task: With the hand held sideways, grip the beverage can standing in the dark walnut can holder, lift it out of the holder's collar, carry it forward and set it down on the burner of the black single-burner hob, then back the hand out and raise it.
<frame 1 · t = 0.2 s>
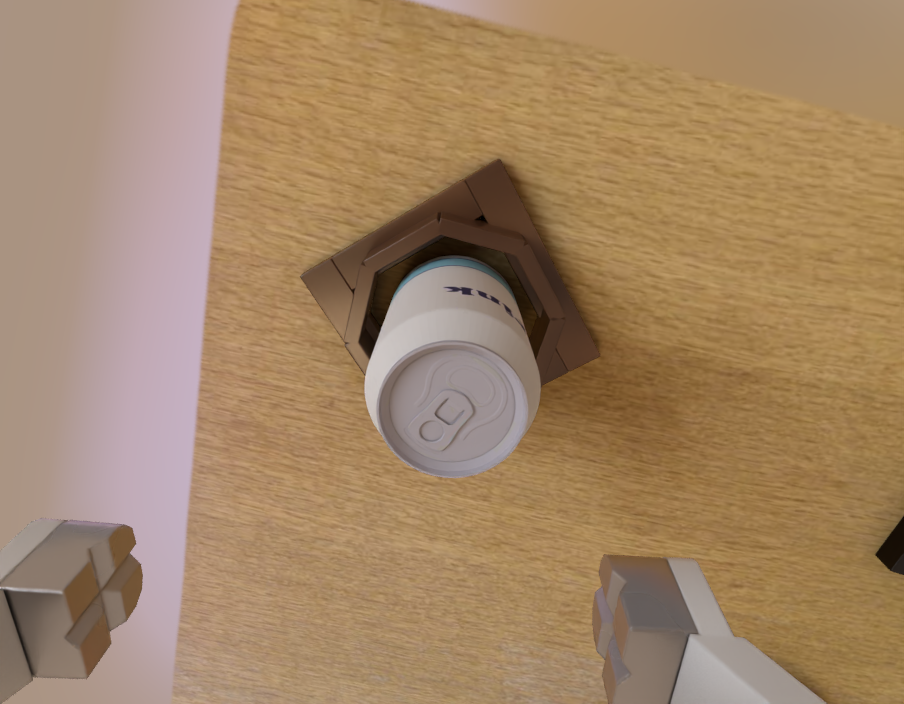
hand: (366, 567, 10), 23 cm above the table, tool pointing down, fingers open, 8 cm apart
can holder: (453, 312, 32), on the table
beverage can: (453, 311, 33), resting in can holder
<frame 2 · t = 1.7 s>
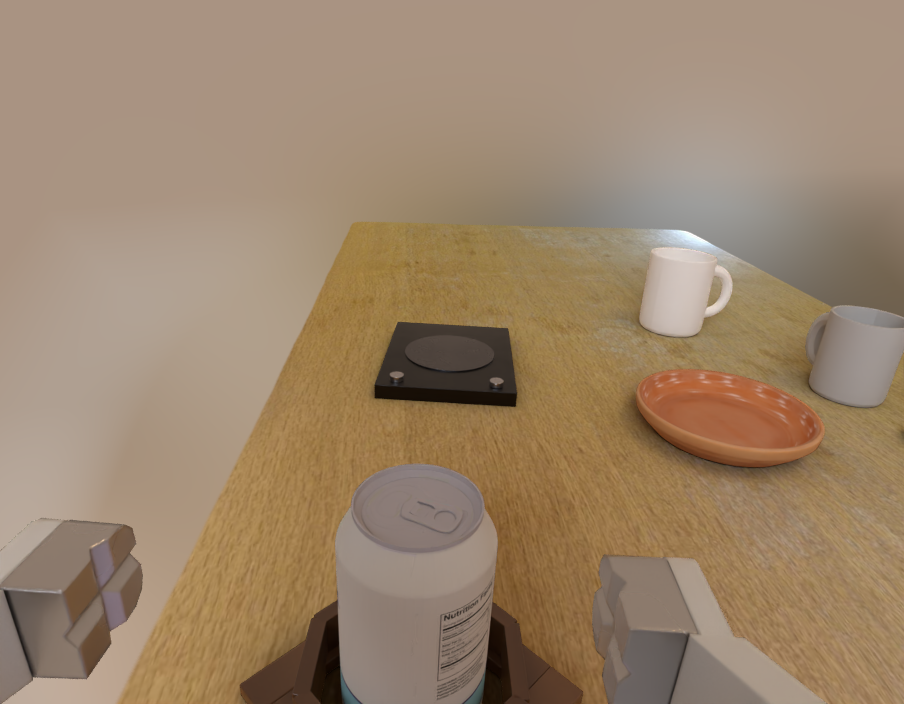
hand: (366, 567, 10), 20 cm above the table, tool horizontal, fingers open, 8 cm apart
mug: (681, 329, 82), on the table
can holder: (412, 698, 29), on the table
hob: (449, 365, 66), on the table
saucer: (718, 432, 55), on the table
cup: (833, 389, 66), on the table
beverage can: (412, 701, 29), resting in can holder
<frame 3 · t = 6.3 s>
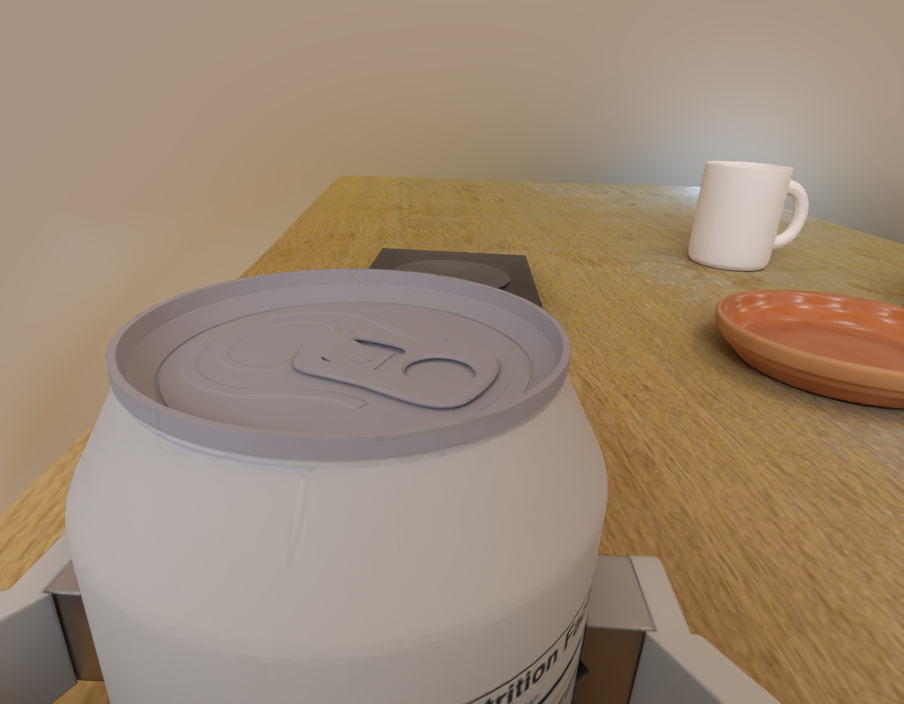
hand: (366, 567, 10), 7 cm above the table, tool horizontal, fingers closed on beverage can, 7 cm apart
mug: (741, 264, 65), on the table
hob: (449, 293, 49), on the table
saucer: (837, 368, 38), on the table
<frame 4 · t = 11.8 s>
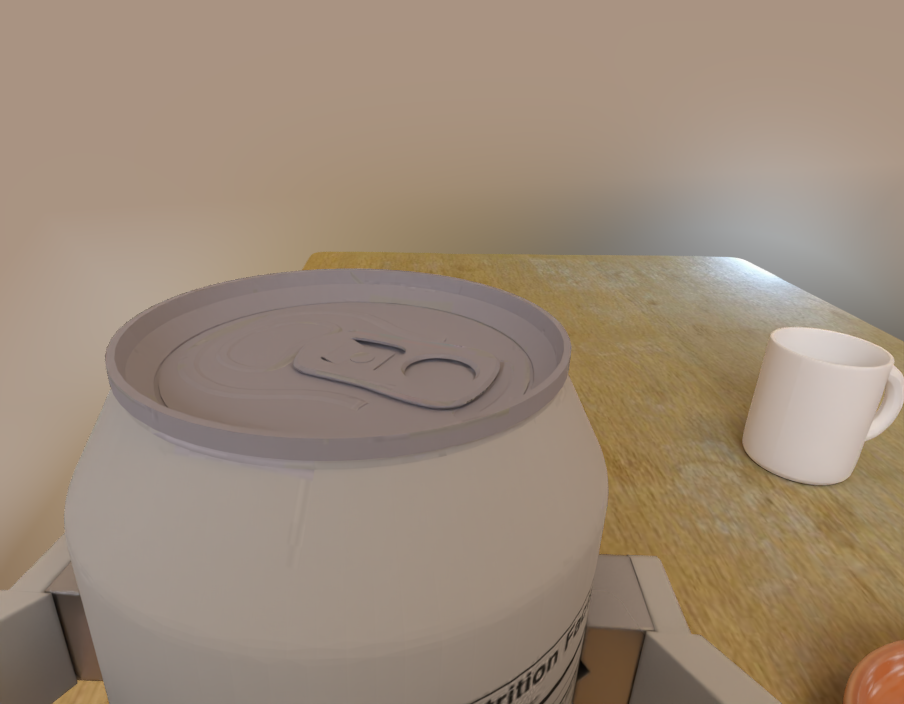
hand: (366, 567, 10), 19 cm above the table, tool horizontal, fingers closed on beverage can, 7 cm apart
mug: (813, 460, 49), on the table
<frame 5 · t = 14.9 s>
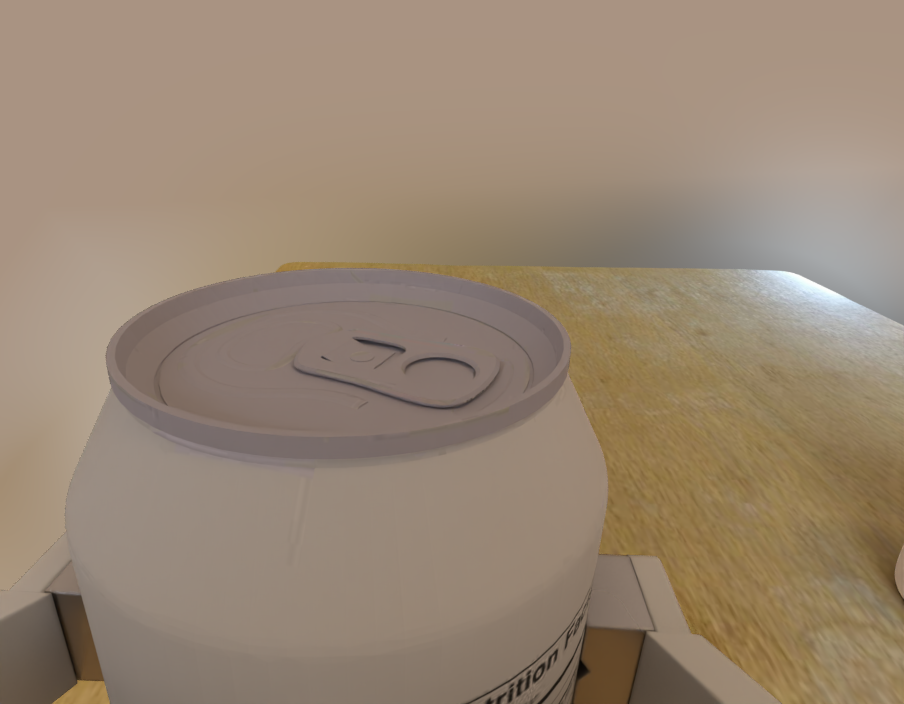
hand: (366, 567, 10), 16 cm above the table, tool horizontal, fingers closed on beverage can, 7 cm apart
when the fingers open (9 cm above the table, at t = 17.5 s): beverage can stays where it is, resting on hob.
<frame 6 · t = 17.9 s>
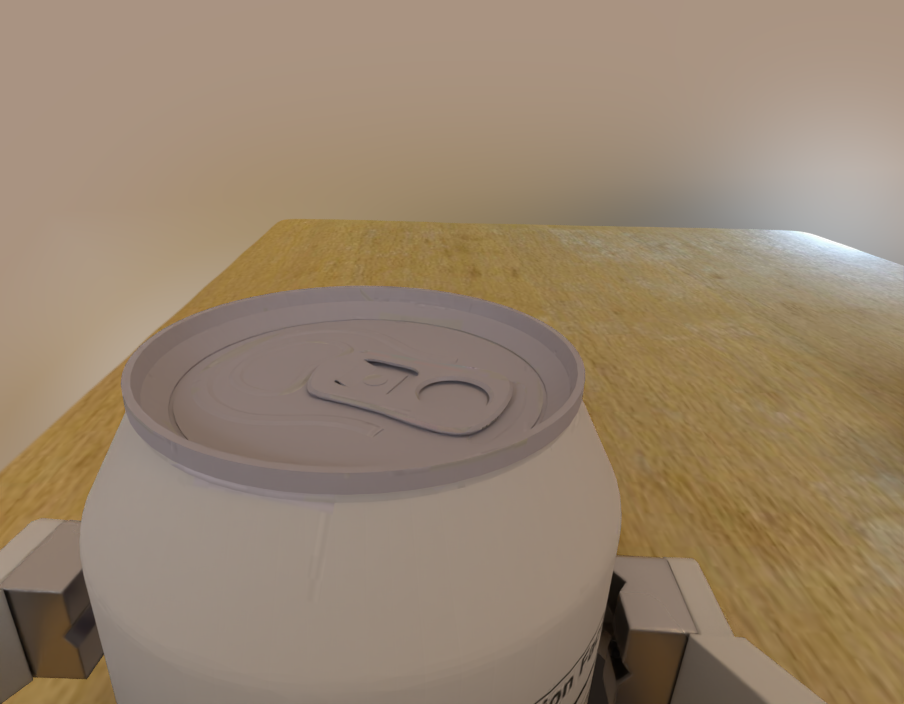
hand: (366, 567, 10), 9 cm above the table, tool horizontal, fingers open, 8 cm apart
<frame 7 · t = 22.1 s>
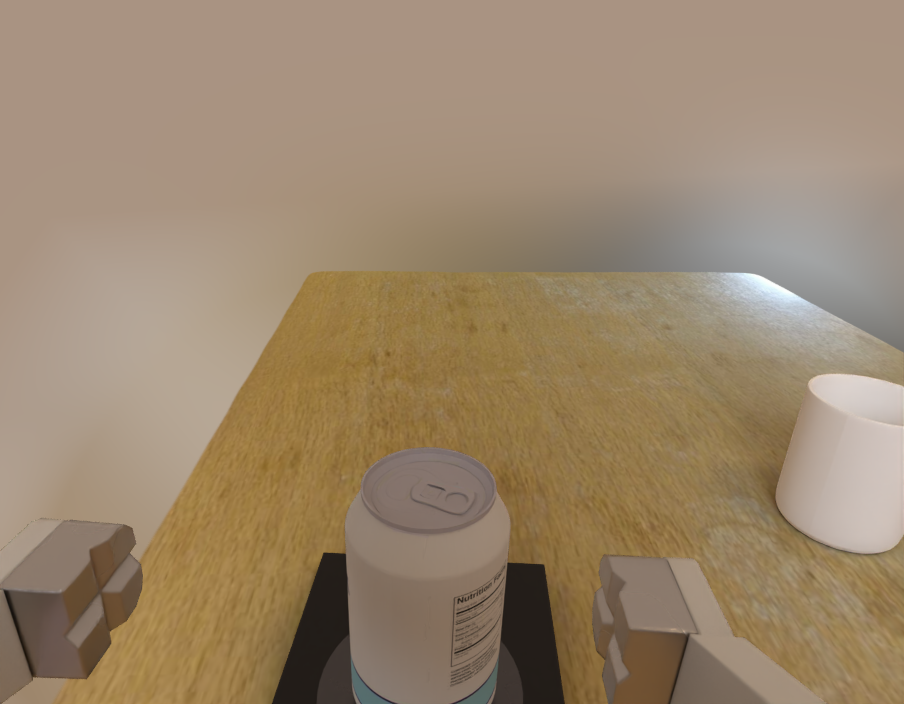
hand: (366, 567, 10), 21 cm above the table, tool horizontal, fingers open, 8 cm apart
mug: (855, 521, 45), on the table
beverage can: (424, 691, 29), point 1 cm above the table, touching hob
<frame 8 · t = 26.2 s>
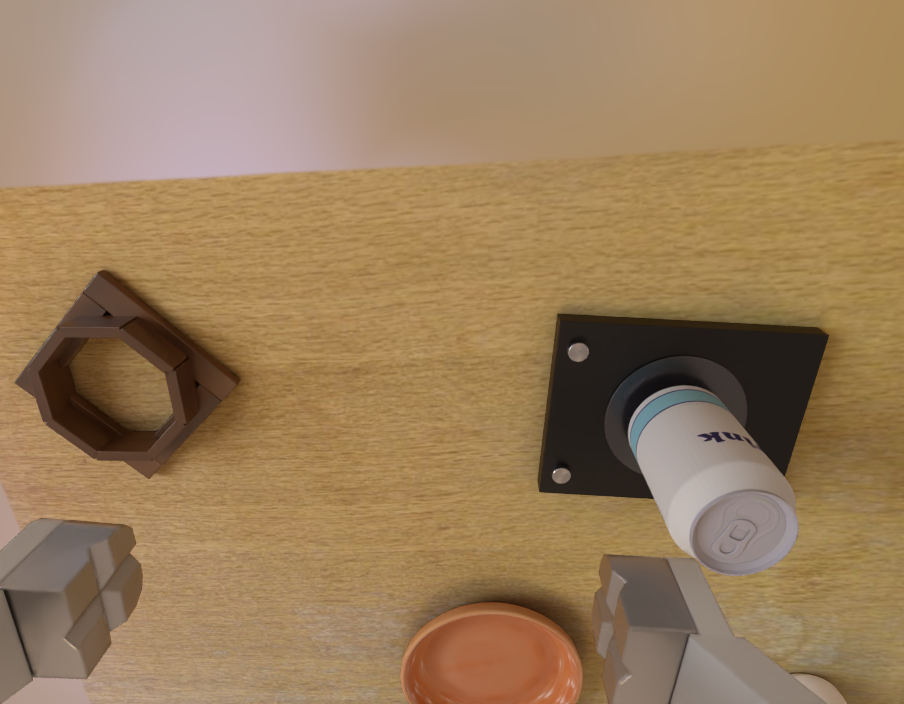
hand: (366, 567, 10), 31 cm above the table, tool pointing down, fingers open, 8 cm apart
can holder: (130, 379, 44), on the table
hob: (668, 409, 43), on the table
saucer: (490, 651, 54), on the table
beverage can: (672, 420, 42), point 1 cm above the table, touching hob
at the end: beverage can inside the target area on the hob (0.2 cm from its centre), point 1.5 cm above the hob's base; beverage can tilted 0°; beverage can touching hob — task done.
